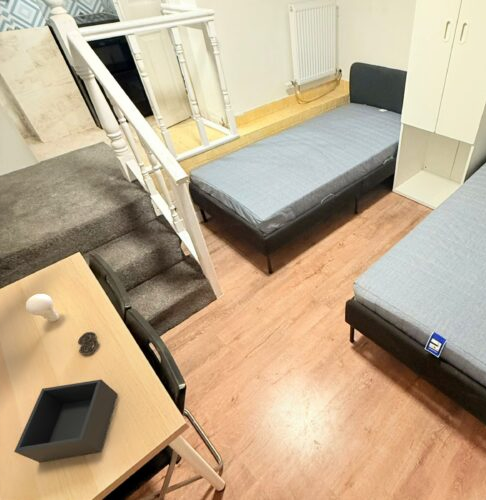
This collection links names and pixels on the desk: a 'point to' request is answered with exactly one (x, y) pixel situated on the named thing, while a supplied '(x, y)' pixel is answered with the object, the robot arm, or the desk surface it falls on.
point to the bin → (68, 421)
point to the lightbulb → (42, 307)
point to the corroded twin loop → (87, 343)
